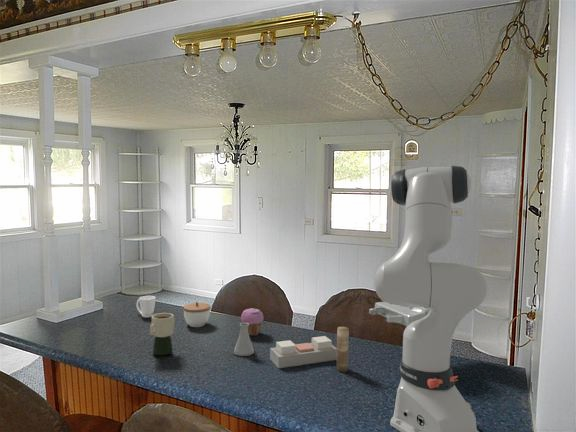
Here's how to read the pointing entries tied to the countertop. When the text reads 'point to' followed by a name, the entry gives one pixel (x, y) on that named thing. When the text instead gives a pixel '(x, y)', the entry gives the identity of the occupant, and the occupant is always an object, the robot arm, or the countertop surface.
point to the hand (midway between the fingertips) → (378, 315)
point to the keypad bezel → (302, 357)
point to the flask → (244, 342)
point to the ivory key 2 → (321, 343)
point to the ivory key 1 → (285, 347)
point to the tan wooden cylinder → (342, 349)
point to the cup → (146, 305)
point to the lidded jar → (196, 314)
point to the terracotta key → (304, 347)
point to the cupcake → (252, 320)
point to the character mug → (162, 332)
